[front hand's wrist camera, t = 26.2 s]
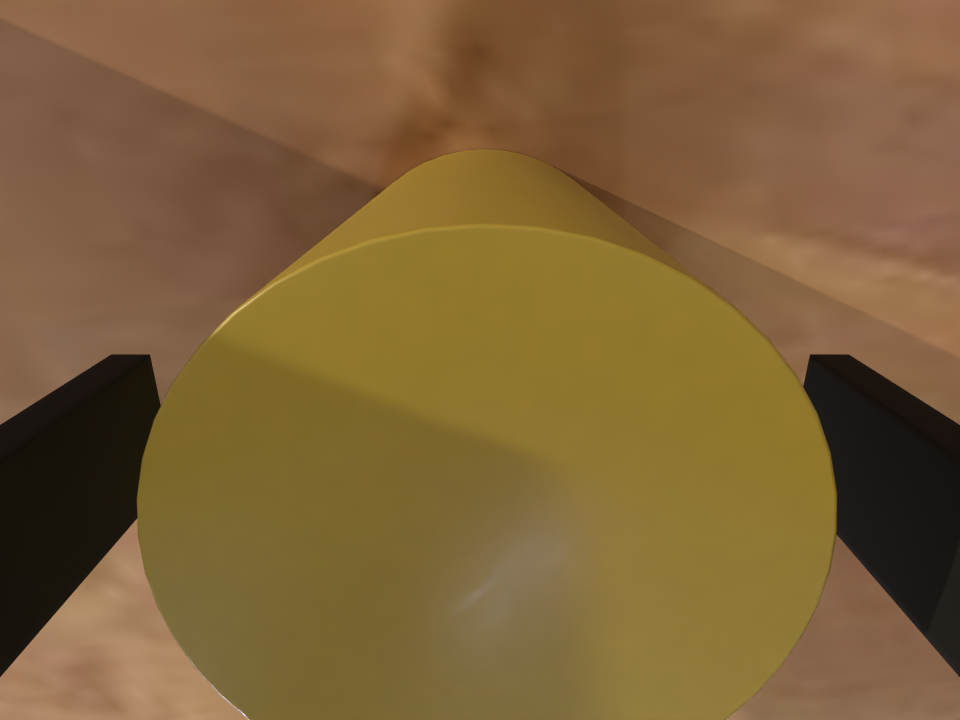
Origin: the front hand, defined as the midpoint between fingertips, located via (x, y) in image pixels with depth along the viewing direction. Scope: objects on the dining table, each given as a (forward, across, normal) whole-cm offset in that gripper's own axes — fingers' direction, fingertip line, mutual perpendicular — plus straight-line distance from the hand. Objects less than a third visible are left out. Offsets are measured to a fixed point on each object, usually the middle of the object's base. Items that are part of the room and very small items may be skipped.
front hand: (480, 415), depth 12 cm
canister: (+7, 0, 0) cm, 7 cm away
